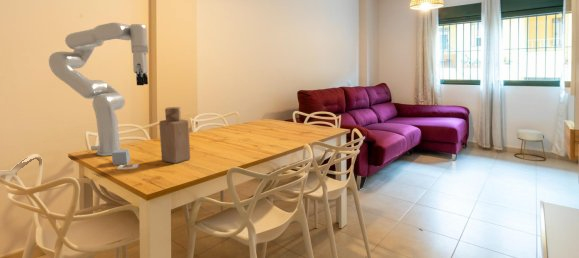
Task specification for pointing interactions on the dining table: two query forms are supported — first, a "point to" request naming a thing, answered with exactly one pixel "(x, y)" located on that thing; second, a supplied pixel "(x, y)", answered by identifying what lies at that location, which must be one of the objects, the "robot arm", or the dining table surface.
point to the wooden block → (174, 141)
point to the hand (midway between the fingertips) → (142, 84)
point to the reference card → (128, 166)
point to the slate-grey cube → (120, 157)
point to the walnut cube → (173, 114)
